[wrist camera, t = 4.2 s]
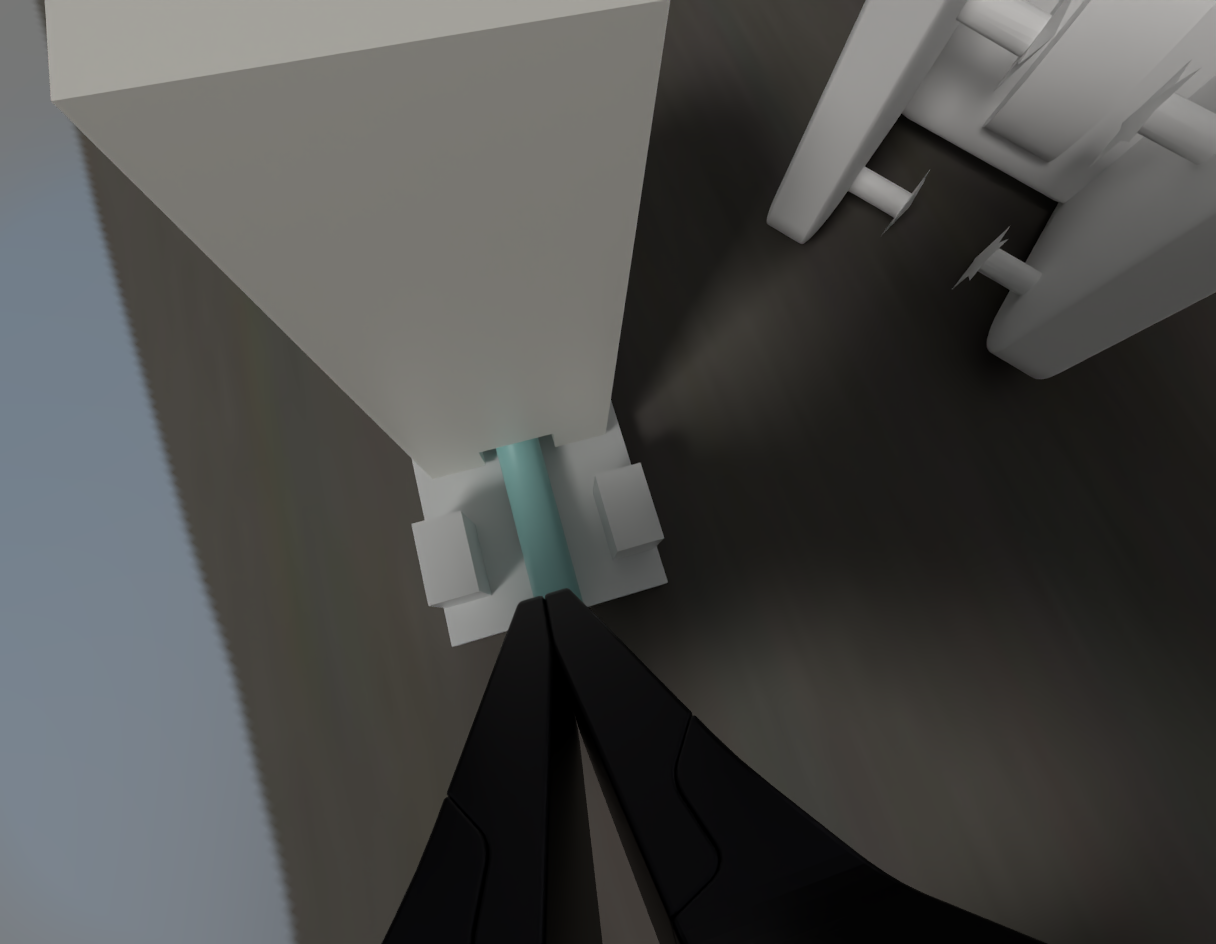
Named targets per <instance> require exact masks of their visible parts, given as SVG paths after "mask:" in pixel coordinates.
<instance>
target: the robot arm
mask: <svg viewBox="0 0 1216 944" xmlns="http://www.w3.org/2000/svg"><path fill="white" fill-rule="evenodd" d="M575 717H576V718H575ZM576 720H577V723H576ZM577 724H578V727H579V730H580V733H581V736H582V739H583V742H584V744H585V747H586V750H587V752H588V755H589V758H590V760H591V763H592V765H593V768H594V771H595V773H596V776H597V779H598V781H599V784H600V787H601V789H602V792H603V795H604V797H605V800H606V803H607V805H608V808H609V811H610V813H611V816H612V818H613V821H614V824H615V826H616V829H617V832H618V834H619V837H620V840H621V842H622V845H623V848H624V850H625V853H626V856H627V858H628V861H629V864H630V866H631V869H632V872H633V874H634V877H635V879H636V882H637V885H638V887H639V890H640V893H641V895H642V898H643V901H644V903H645V906H646V909H647V911H648V914H649V917H650V919H651V922H652V925H653V927H654V930H655V932H656V935H657V938H658V940H659V943H660V944H1047V943H1044V942H1042V941H1039V940H1037V939H1035V938H1032V937H1030V936H1027V935H1025V934H1022V933H1020V932H1017V931H1015V930H1013V929H1010V928H1008V927H1005V926H1003V925H1000V924H998V923H995V922H993V921H990V920H988V919H986V918H983V917H981V916H978V915H976V914H973V913H971V912H968V911H966V910H963V909H961V908H959V907H956V906H954V905H951V904H949V903H946V902H944V901H941V900H939V899H937V898H934V897H932V896H929V895H927V894H925V893H922V892H920V891H918V890H916V889H914V888H912V887H910V886H908V885H906V884H904V883H902V882H900V881H899V880H897V879H895V878H894V877H892V876H890V875H889V874H887V873H885V872H884V871H882V870H881V869H879V868H878V867H877V866H875V865H874V864H872V863H871V862H869V861H868V860H867V859H865V858H864V857H863V856H861V855H860V854H859V853H857V852H856V851H855V850H853V849H852V848H851V847H850V846H848V845H847V844H846V843H844V842H843V841H842V840H841V839H839V838H838V837H837V836H836V835H834V834H833V833H832V832H830V831H829V830H828V829H827V828H825V827H824V826H823V825H822V824H820V823H819V822H818V821H816V820H815V819H814V818H813V817H811V816H810V815H809V814H808V813H806V812H805V811H804V810H803V809H801V808H800V807H799V806H797V805H796V804H795V803H794V802H792V801H791V800H790V799H789V798H787V797H786V796H785V795H783V794H782V793H781V792H780V791H778V790H777V789H776V788H775V787H773V786H772V785H771V784H770V783H768V782H767V781H766V780H765V779H764V778H762V777H761V776H760V775H759V774H758V773H756V772H755V771H754V770H753V769H752V768H750V767H749V766H748V765H747V764H746V763H744V762H743V761H742V760H741V759H740V758H739V757H738V756H736V755H735V754H734V753H733V752H732V751H731V750H730V749H729V748H728V747H727V746H726V745H725V744H724V743H723V742H722V741H721V740H720V739H718V738H717V737H716V736H715V735H714V734H713V733H712V732H711V731H710V730H709V729H708V728H707V727H706V726H705V725H704V724H703V723H702V722H701V721H700V720H699V719H698V718H697V717H696V716H692V712H691V711H690V710H689V709H688V708H687V707H686V706H685V705H684V704H683V703H682V702H681V701H680V700H679V699H678V698H677V697H676V696H675V695H674V694H673V693H672V692H671V691H670V690H669V689H668V688H667V687H666V686H665V685H664V684H663V683H662V682H661V681H660V680H659V679H658V678H657V677H656V676H655V675H654V674H653V673H652V672H651V671H650V669H649V668H648V667H647V666H646V665H645V664H644V663H643V662H642V661H641V660H640V659H639V658H638V657H637V656H636V655H635V654H634V653H633V652H632V651H631V650H630V649H629V648H628V647H627V646H626V645H625V644H624V643H623V642H622V641H621V640H620V639H619V638H618V637H617V636H616V635H615V634H614V633H613V632H612V631H611V630H610V629H609V628H608V627H607V626H606V625H605V624H604V623H603V622H602V621H601V620H600V619H599V618H598V617H597V616H596V615H595V614H594V613H593V612H592V611H591V610H590V609H589V608H588V607H587V606H586V605H585V604H584V603H583V602H582V601H581V600H580V599H579V598H578V597H577V596H576V595H575V594H574V593H573V592H572V591H571V590H570V589H569V588H564V589H560V590H557V591H553V592H550V593H547V594H546V595H545V599H544V597H543V596H536V597H533V598H529V599H526V600H523V601H520V602H519V603H518V605H517V607H516V610H515V612H514V615H513V618H512V620H511V623H510V626H509V628H508V631H507V634H506V636H505V639H504V642H503V644H502V647H501V650H500V652H499V655H498V658H497V660H496V663H495V666H494V668H493V671H492V674H491V676H490V679H489V682H488V684H487V687H486V690H485V692H484V695H483V698H482V700H481V703H480V706H479V708H478V711H477V714H476V716H475V719H474V722H473V724H472V727H471V730H470V732H469V735H468V738H467V740H466V743H465V746H464V748H463V751H462V754H461V756H460V759H459V762H458V764H457V767H456V770H455V772H454V775H453V778H452V780H451V783H450V786H449V788H448V791H447V795H448V797H446V798H445V799H444V801H443V804H442V806H441V809H440V812H439V814H438V817H437V820H436V823H435V825H434V828H433V830H432V833H431V835H430V838H429V840H428V843H427V845H426V848H425V850H424V852H423V855H422V857H421V860H420V862H419V865H418V867H417V870H416V872H415V874H414V876H413V878H412V880H411V883H410V885H409V887H408V889H407V891H406V893H405V895H404V898H403V900H402V902H401V904H400V906H399V908H398V911H397V913H396V915H395V917H394V919H393V921H392V923H391V925H390V927H389V929H388V931H387V933H386V935H385V938H384V940H383V942H382V944H602V935H601V926H600V917H599V909H598V900H597V891H596V882H595V873H594V864H593V856H592V847H591V838H590V829H589V820H588V811H587V803H586V794H585V785H584V776H583V767H582V758H581V750H580V741H579V734H578V728H577Z"/></svg>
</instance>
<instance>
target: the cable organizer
mask: <svg viewBox="0 0 1216 944" xmlns="http://www.w3.org/2000/svg"><path fill="white" fill-rule="evenodd" d="M901 114H903V115H904V116H905V117H907V118H908V119H910V120H911V121H913V122H915V123H917V124H918V125H920V126H922V127H924V128H926V129H927V130H929V131H931V132H933V133H934V134H936V135H938V136H940V137H942V138H943V139H945V140H947V141H949V142H951V143H952V144H954V145H956V146H958V147H959V148H961V149H963V150H965V151H967V152H968V153H970V154H972V155H974V156H976V157H977V158H979V159H981V160H983V161H984V162H986V163H988V164H990V165H992V166H993V167H995V168H997V169H999V170H1000V171H1002V172H1004V173H1006V174H1008V175H1009V176H1011V177H1013V178H1015V179H1017V180H1018V181H1020V182H1022V183H1024V184H1025V185H1027V186H1029V187H1031V188H1033V189H1034V190H1036V191H1038V192H1040V193H1042V194H1043V195H1045V196H1047V197H1049V198H1050V199H1052V200H1054V201H1057V202H1058V204H1057V206H1056V208H1055V210H1054V212H1053V213H1052V215H1051V217H1050V219H1049V221H1048V222H1047V224H1046V226H1045V228H1044V230H1043V231H1042V233H1041V235H1040V237H1039V239H1038V240H1037V242H1036V244H1035V246H1034V248H1033V249H1032V251H1031V253H1030V255H1029V257H1028V259H1027V260H1026V262H1025V263H1024V262H1022V261H1021V260H1019V259H1017V258H1015V257H1014V256H1012V255H1010V254H1008V253H1007V252H1005V251H1003V250H1002V249H1000V247H1001V246H1002V245H1003V244H1004V243H1005V242H1006V241H1007V240H1008V239H1007V240H1004V241H1002V242H1000V240H1001V239H1002V238H1003V236H1004V235H1005V233H1006V232H1007V230H1008V229H1009V227H1010V226H1011V225H1010V226H1009V227H1008V228H1007V229H1006V230H1005V231H1004V232H1003V233H1002V234H1001V235H1000V236H999V237H998V238H997V239H995V240H994V241H993V242H992V243H991V244H990V245H989V246H988V247H987V248H986V249H985V250H984V251H983V252H982V253H980V254H979V255H978V256H977V257H976V258H975V259H974V261H973V263H972V264H971V265H970V267H969V268H968V269H967V270H966V272H965V273H964V274H963V276H962V277H961V278H960V279H959V281H958V282H957V283H956V285H955V286H954V287H956V286H957V285H958V284H959V283H960V282H962V281H963V280H964V279H965V278H966V277H968V276H969V280H971V279H972V277H973V276H974V275H975V274H976V272H977V271H978V272H980V273H981V274H983V275H985V276H987V277H988V278H990V279H992V280H993V281H995V282H997V283H999V284H1000V285H1002V286H1004V287H1005V288H1007V289H1009V290H1010V291H1009V293H1008V295H1007V296H1006V298H1005V300H1004V302H1003V304H1002V306H1001V307H1000V309H999V311H998V313H997V315H996V316H995V318H994V321H993V323H992V325H991V327H990V330H989V333H988V337H987V349H988V351H989V352H990V353H992V354H994V355H995V356H997V357H999V358H1000V359H1002V360H1004V361H1005V362H1007V363H1009V364H1010V365H1012V366H1014V367H1015V368H1017V369H1019V370H1020V371H1022V372H1024V373H1025V374H1027V375H1029V376H1030V377H1032V378H1034V379H1046V378H1050V377H1052V376H1054V375H1056V374H1059V373H1061V372H1063V371H1065V370H1067V369H1068V368H1070V367H1072V366H1074V365H1076V364H1078V363H1080V362H1082V361H1084V360H1086V359H1088V358H1090V357H1092V356H1094V355H1096V354H1097V353H1099V352H1101V351H1103V350H1105V349H1107V348H1109V347H1111V346H1113V345H1115V344H1117V343H1119V342H1121V341H1123V340H1125V339H1126V338H1128V337H1130V336H1132V335H1134V334H1136V333H1138V332H1140V331H1142V330H1144V329H1146V328H1148V327H1150V326H1152V325H1154V324H1156V323H1157V322H1159V321H1161V320H1163V319H1165V318H1167V317H1169V316H1171V315H1173V314H1175V313H1177V312H1179V311H1181V310H1183V309H1185V308H1186V307H1188V306H1190V305H1192V304H1194V303H1196V302H1198V301H1200V300H1202V299H1204V298H1206V297H1208V296H1210V295H1212V294H1214V293H1215V292H1216V0H866V1H865V3H864V5H863V7H862V9H861V12H860V14H859V16H858V18H857V20H856V22H855V24H854V27H853V29H852V31H851V33H850V35H849V37H848V40H847V42H846V44H845V46H844V48H843V50H842V53H841V55H840V57H839V59H838V61H837V63H836V66H835V68H834V70H833V72H832V74H831V76H830V78H829V81H828V83H827V85H826V87H825V89H824V91H823V94H822V96H821V98H820V100H819V102H818V104H817V107H816V109H815V111H814V113H813V115H812V117H811V119H810V122H809V124H808V126H807V128H806V130H805V132H804V135H803V137H802V139H801V141H800V143H799V145H798V148H797V150H796V152H795V154H794V156H793V158H792V160H791V163H790V165H789V167H788V169H787V171H786V173H785V176H784V178H783V180H782V182H781V184H780V186H779V189H778V191H777V193H776V195H775V197H774V199H773V202H772V204H771V207H770V209H769V212H768V216H767V224H768V225H770V226H771V227H773V228H775V229H776V230H778V231H780V232H781V233H783V234H785V235H786V236H788V237H790V238H791V239H793V240H795V241H796V242H798V243H800V244H804V243H805V242H807V241H808V240H809V239H810V238H811V237H812V236H813V235H814V234H815V233H816V232H817V231H818V230H819V228H820V227H821V226H822V225H823V224H824V223H825V221H826V220H827V219H828V218H829V216H830V215H831V214H832V212H833V211H834V210H835V208H836V207H837V206H838V204H839V203H840V201H841V200H842V199H843V197H844V196H845V194H846V193H847V191H849V192H851V193H852V194H854V195H856V196H858V197H859V198H861V199H863V200H864V201H866V202H868V203H870V204H871V205H873V206H875V207H876V208H878V209H880V210H882V211H883V212H885V213H887V214H888V215H890V216H892V217H894V218H893V220H892V221H891V222H890V224H889V225H888V227H887V228H886V229H885V231H886V230H887V229H888V228H889V227H890V226H891V225H892V224H893V223H894V222H895V221H896V220H897V219H898V218H899V217H900V216H901V215H902V214H903V213H904V212H905V211H906V210H907V209H908V208H909V207H910V206H911V204H912V202H913V200H914V198H915V197H916V195H917V193H918V191H919V190H920V188H921V186H922V184H923V183H924V181H925V178H926V176H927V174H928V173H927V174H926V175H925V177H924V178H923V179H922V181H921V182H920V183H919V185H918V186H917V187H916V189H915V190H914V191H913V193H910V192H908V191H907V190H905V189H903V188H901V187H900V186H898V185H896V184H895V183H893V182H891V181H889V180H888V179H886V178H884V177H882V176H881V175H879V174H877V173H875V172H874V171H872V170H870V169H868V168H867V167H865V165H866V164H867V163H868V161H869V160H870V158H871V157H872V155H873V154H874V152H875V151H876V150H877V148H878V147H879V145H880V144H881V142H882V141H883V139H884V138H885V137H886V135H887V134H888V132H889V131H890V129H891V128H892V126H893V125H894V124H895V122H896V121H897V119H898V118H899V116H900V115H901ZM929 171H930V170H929ZM929 171H928V172H929ZM885 231H884V232H885ZM884 232H883V233H884ZM883 233H882V234H883ZM954 287H953V288H954Z"/></svg>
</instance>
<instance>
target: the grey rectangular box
mask: <svg viewBox="0 0 1216 944" xmlns="http://www.w3.org/2000/svg"><path fill="white" fill-rule="evenodd" d="M669 5H670V0H45V11H46V28H47V44H48V60H49V77H50V92H51V102H52V103H53V104H54V105H55V106H56V107H57V108H58V109H59V110H60V111H62V113H63V114H64V115H65V116H66V117H67V118H68V119H69V120H71V121H72V122H73V123H74V124H75V125H76V126H77V127H78V128H79V129H80V130H81V131H82V132H83V133H84V134H85V135H86V136H87V137H88V138H89V139H90V140H91V141H92V142H93V143H94V144H95V145H96V146H97V147H98V148H99V149H100V150H101V151H102V152H103V153H104V154H105V155H106V156H107V157H108V158H109V159H110V160H111V161H112V162H113V163H114V164H115V165H116V166H117V167H118V168H119V169H120V170H121V171H122V172H123V173H124V174H125V175H126V176H127V177H128V178H129V179H130V180H131V181H132V182H133V183H134V184H135V185H136V186H137V187H138V188H139V189H140V190H141V191H142V192H143V193H144V194H145V195H146V196H147V197H148V198H149V199H150V200H151V201H152V202H153V203H154V204H155V205H156V206H157V207H158V208H159V209H160V210H161V211H162V212H163V213H164V214H165V215H166V216H167V217H168V218H170V219H171V220H172V221H173V222H174V223H175V224H176V225H177V226H178V227H179V228H180V229H181V230H182V231H183V232H184V233H185V234H186V235H187V236H188V237H189V238H190V239H191V240H192V241H193V242H194V243H195V244H196V245H197V246H198V247H199V248H200V249H201V250H202V251H203V252H204V253H205V254H206V255H207V256H208V257H209V258H210V259H211V260H212V261H213V262H214V263H215V264H216V265H217V266H218V267H219V268H220V269H221V270H222V271H223V272H224V273H225V274H226V275H227V276H228V277H229V278H230V279H231V280H232V281H233V282H234V283H235V284H236V285H237V286H238V287H239V288H240V289H241V290H242V291H243V292H244V293H245V294H246V295H247V296H248V297H249V298H250V299H251V300H252V301H253V302H254V303H255V304H256V305H257V306H258V307H259V308H260V309H261V310H262V311H263V312H264V313H265V314H266V315H267V316H269V317H270V318H271V319H272V320H273V321H274V322H275V323H276V324H277V325H278V326H279V327H280V328H281V329H282V330H283V331H284V332H285V333H286V334H287V335H288V336H289V337H290V338H291V339H292V340H293V341H294V342H295V343H296V344H297V345H298V346H299V347H300V348H301V349H302V350H303V351H304V352H305V353H306V354H307V355H308V356H309V357H310V358H311V359H312V360H313V361H314V362H315V363H316V364H317V365H318V366H319V367H320V368H321V369H322V370H323V371H324V372H325V373H326V374H327V375H328V376H329V377H330V378H331V379H332V380H333V381H334V382H335V383H336V384H337V385H338V386H339V387H340V388H341V389H342V390H343V391H344V392H345V393H346V394H347V395H348V396H349V397H350V398H351V399H352V400H353V401H354V402H355V403H356V404H357V405H358V406H359V407H360V408H361V409H362V410H363V411H364V412H365V413H366V414H368V415H369V416H370V417H371V418H372V419H373V420H374V421H375V422H376V423H377V424H378V425H379V426H380V427H381V428H382V429H383V430H384V431H385V432H386V433H387V434H388V435H389V436H390V437H391V438H392V439H393V440H394V441H395V442H396V443H397V444H398V445H399V446H400V447H401V448H402V449H403V450H404V451H405V452H406V453H407V454H408V455H409V456H410V457H411V458H412V459H413V460H414V461H415V462H416V463H417V464H418V465H419V466H420V467H421V468H422V469H423V470H424V471H425V472H426V473H427V474H428V475H429V476H430V477H431V478H432V479H435V478H439V477H442V476H446V475H450V474H454V473H458V472H462V471H465V470H469V469H473V468H477V467H481V466H485V465H486V463H485V459H484V455H483V451H487V450H491V449H495V448H499V447H503V446H507V445H510V444H514V443H518V442H522V441H526V440H530V439H534V438H538V437H542V436H545V435H549V434H552V438H553V441H554V445H555V447H558V446H561V445H565V444H569V443H573V442H577V441H581V440H584V439H588V438H592V437H596V436H600V435H604V434H606V428H607V421H608V414H609V408H610V401H611V394H612V388H613V381H614V374H615V367H616V361H617V354H618V347H619V341H620V334H621V327H622V320H623V314H624V307H625V300H626V294H627V287H628V280H629V273H630V267H631V260H632V253H633V247H634V240H635V233H636V226H637V220H638V213H639V206H640V200H641V193H642V186H643V179H644V173H645V166H646V159H647V153H648V146H649V139H650V132H651V126H652V119H653V112H654V106H655V99H656V92H657V85H658V79H659V72H660V65H661V59H662V52H663V45H664V38H665V32H666V25H667V18H668V12H669Z"/></svg>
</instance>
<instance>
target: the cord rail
mask: <svg viewBox="0 0 1216 944" xmlns="http://www.w3.org/2000/svg"><path fill="white" fill-rule="evenodd" d="M483 455H484V459H485V463H486V465H485V466H481V467H477V468H473V469H469V470H465V471H462V472H458V473H454V474H450V475H446V476H442V477H439V478H435V479H432V478H431V477H430V476H429V475H428V474H427V473H426V472H425V471H424V470H423V469H422V468H421V467H420V466H419V465H418V464H417V463H416V462H415V461H414V460H413V459H412V462H413V467H414V472H415V476H416V481H417V486H418V490H419V495H420V500H421V504H422V509H423V514H424V518H425V521H421V522H417V523H414V524H412V529H413V534H414V539H415V543H416V548H417V553H418V558H419V563H420V568H421V572H422V577H423V582H424V587H425V592H426V596H427V601H428V606H433V607H442V608H444V612H445V616H446V621H447V626H448V630H449V635H450V640H451V644H452V647H453V646H459V645H462V644H466V643H469V642H472V641H476V640H479V639H482V638H486V637H489V636H493V635H496V634H499V633H503V632H506V631H508V628H509V626H510V623H511V620H512V618H513V615H514V612H515V610H516V607H517V605H518V603H519V602H520V601H523V600H526V599H529V598H533V597H536V596H543V597H544V599H545V595H546V594H547V593H550V592H553V591H557V590H560V589H564V588H569V589H570V590H571V591H572V592H573V593H574V594H575V595H576V596H577V597H578V598H579V599H580V600H581V601H582V602H583V603H584V604H585V605H586V606H587V607H590V606H593V605H597V604H600V603H603V602H607V601H610V600H613V599H617V598H620V597H623V596H627V595H630V594H633V593H637V592H640V591H643V590H647V589H650V588H654V587H657V586H660V585H663V584H666V583H668V581H667V578H666V574H665V571H664V568H663V565H662V562H661V558H660V555H659V552H658V549H657V545H658V544H659V543H660V542H661V541H662V540H663V539H664V535H663V532H662V529H661V526H660V523H659V519H658V516H657V513H656V510H655V507H654V504H653V501H652V497H651V494H650V491H649V488H648V485H647V482H646V478H645V475H644V472H643V469H642V466H641V463H637V464H633V465H631V462H630V459H629V456H628V453H627V449H626V446H625V443H624V440H623V437H622V433H621V430H620V427H619V424H618V421H617V417H616V414H615V411H614V408H613V405H612V401H610V408H609V414H608V421H607V428H606V434H604V435H600V436H596V437H592V438H588V439H584V440H581V441H577V442H573V443H569V444H565V445H561V446H558V447H555V445H554V441H553V438H552V434H549V435H545V436H542V437H538V438H534V439H530V440H526V441H522V442H518V443H514V444H510V445H507V446H503V447H499V448H495V449H491V450H487V451H483Z"/></svg>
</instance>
